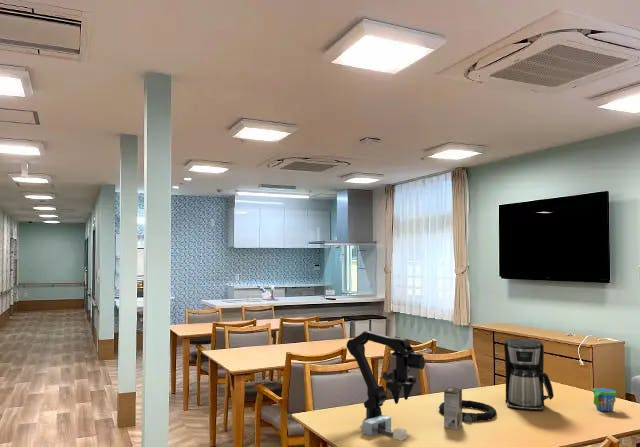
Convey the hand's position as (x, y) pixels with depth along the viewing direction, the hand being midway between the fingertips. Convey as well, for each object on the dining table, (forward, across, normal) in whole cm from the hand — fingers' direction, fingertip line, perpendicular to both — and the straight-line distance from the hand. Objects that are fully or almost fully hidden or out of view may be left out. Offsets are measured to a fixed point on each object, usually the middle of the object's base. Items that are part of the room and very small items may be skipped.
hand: (401, 401), depth 242 cm
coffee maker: (+11, -80, +35) cm, 88 cm away
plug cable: (+11, +14, 0) cm, 18 cm away
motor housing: (+11, +13, -5) cm, 18 cm away
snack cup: (+11, -92, +69) cm, 116 cm away
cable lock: (+11, -40, +16) cm, 44 cm away
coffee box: (+11, -16, +18) cm, 27 cm away
